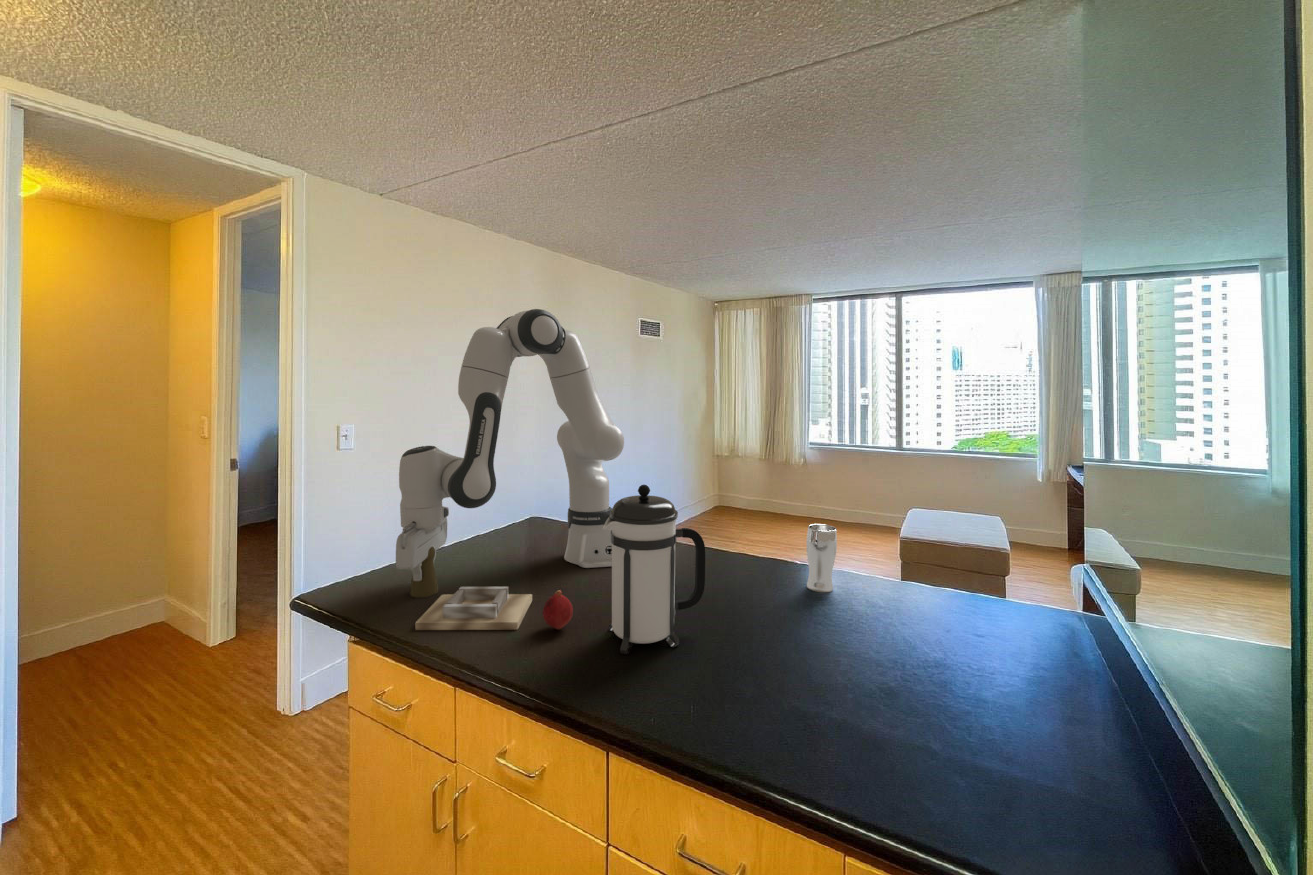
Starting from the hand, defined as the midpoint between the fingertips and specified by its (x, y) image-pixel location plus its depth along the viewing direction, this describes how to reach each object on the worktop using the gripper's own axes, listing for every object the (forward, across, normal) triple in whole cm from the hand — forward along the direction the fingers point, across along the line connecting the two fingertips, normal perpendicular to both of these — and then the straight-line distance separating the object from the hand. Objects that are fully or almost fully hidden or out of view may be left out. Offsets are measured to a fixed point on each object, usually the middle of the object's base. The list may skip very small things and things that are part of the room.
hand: (424, 575), depth 121 cm
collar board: (+4, -12, -16) cm, 20 cm away
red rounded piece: (+4, -19, -34) cm, 39 cm away
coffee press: (+4, -22, -52) cm, 57 cm away
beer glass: (+4, +2, -94) cm, 94 cm away
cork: (+4, 0, 0) cm, 4 cm away
